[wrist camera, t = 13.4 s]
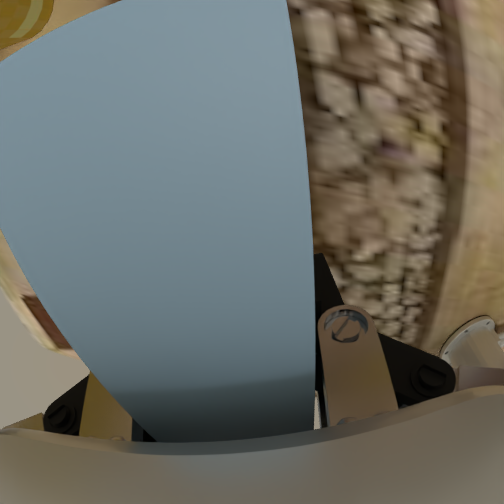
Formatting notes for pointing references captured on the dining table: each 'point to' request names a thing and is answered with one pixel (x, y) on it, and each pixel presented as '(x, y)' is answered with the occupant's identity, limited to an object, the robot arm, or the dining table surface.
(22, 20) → the book
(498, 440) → the robot arm
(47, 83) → the tall sheet
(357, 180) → the dining table surface
